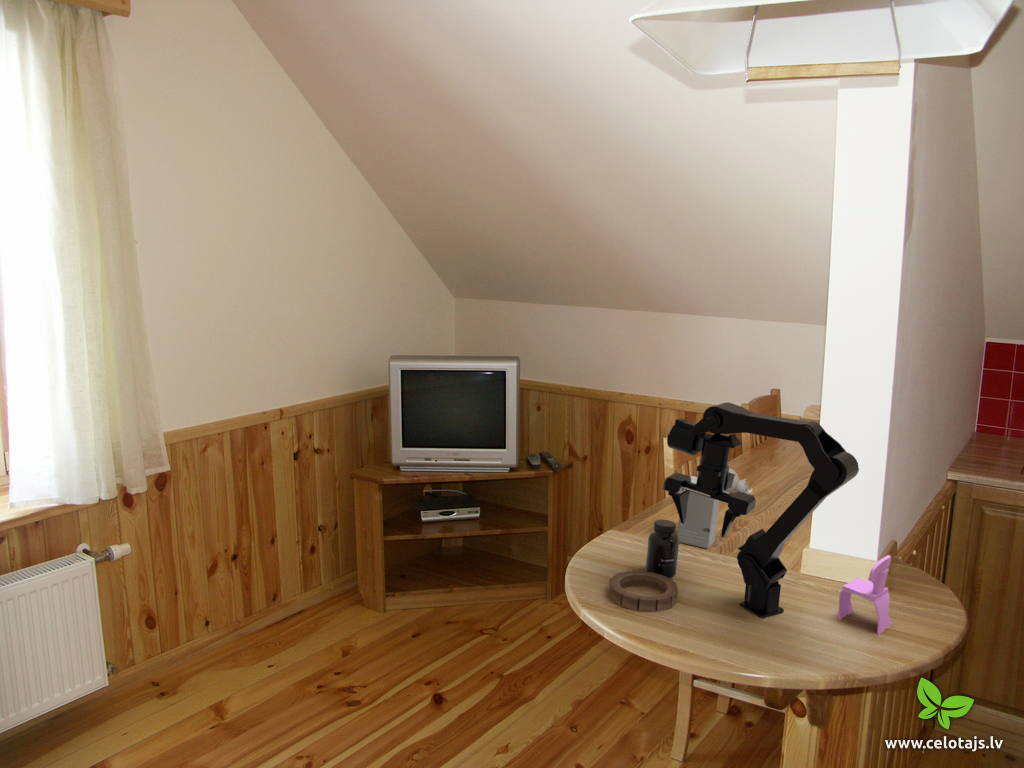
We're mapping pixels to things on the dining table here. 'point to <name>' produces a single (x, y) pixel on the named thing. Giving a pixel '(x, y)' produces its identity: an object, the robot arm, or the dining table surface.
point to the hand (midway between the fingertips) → (702, 530)
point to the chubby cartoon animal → (738, 484)
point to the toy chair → (870, 593)
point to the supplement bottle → (663, 549)
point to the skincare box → (699, 520)
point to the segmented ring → (642, 601)
